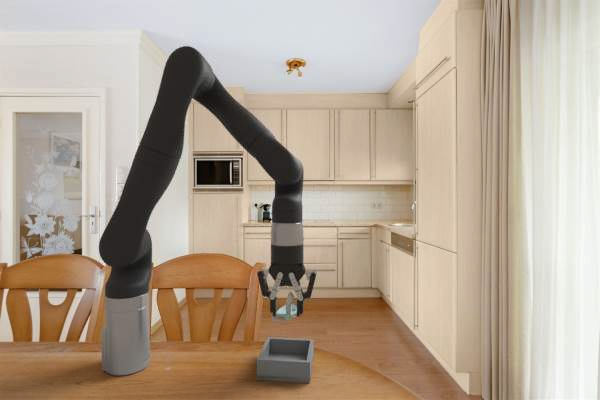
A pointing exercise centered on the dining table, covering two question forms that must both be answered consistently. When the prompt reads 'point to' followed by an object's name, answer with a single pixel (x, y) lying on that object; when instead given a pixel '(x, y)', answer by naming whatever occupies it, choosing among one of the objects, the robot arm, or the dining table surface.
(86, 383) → the dining table surface
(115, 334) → the robot arm
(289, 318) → the pacifier
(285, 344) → the bin
